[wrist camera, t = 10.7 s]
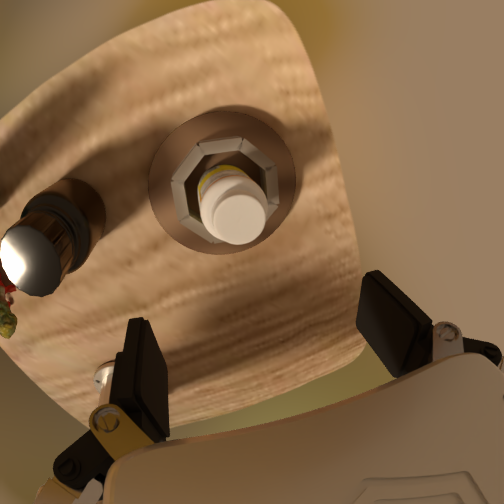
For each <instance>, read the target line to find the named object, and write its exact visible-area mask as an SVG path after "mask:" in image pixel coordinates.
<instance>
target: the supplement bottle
mask: <svg viewBox="0 0 504 504" xmlns="http://www.w3.org/2000/svg"><path fill="white" fill-rule="evenodd" d="M197 193H198V201H199V207H200V214H201V219H202V222H203V224H204V226H205V227H206V229H207V230H208V231H209V232H210V233H211V234H212V235H213V236H214V237H216V238H218V239H220V240H223V241H226V242H228V243H230V244H235V245H240V244H246V243H249V242H251V241H253V240H254V239H256V238H257V237H258V236H259V235H260V234H261V232H262V231H263V229H264V226H265V222H266V217H267V213H268V203H267V199H266V196H265V194H264V192H263V190H262V189H261V188H260V187H259V186H258V185H257V184H256V183H255V182H254V181H253V180H252V179H251V178H250V177H249V176H248V175H247V174H246V173H245V172H244V171H242V170H241V169H240V168H238V167H236V166H234V165H231V164H218V165H215V166H213V167H211V168H209V169H208V170H207V171H206V172H205V173H204V174H203V175H202V176H201V178H200V180H199V183H198V188H197Z"/></svg>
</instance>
